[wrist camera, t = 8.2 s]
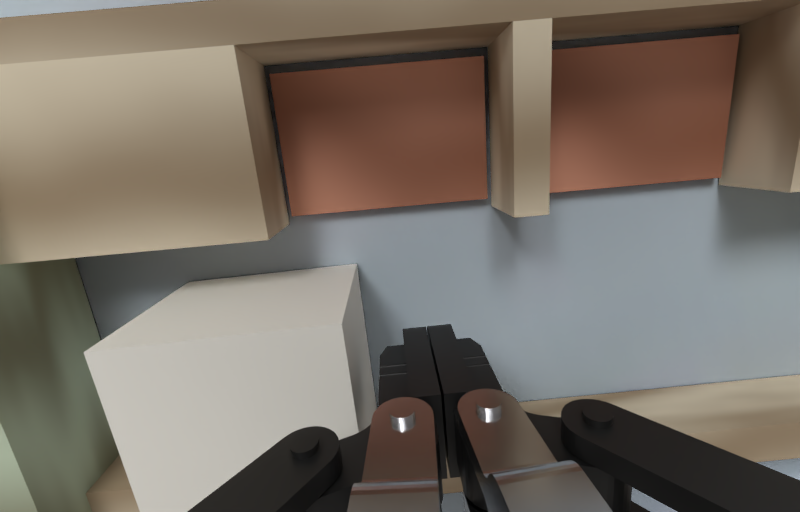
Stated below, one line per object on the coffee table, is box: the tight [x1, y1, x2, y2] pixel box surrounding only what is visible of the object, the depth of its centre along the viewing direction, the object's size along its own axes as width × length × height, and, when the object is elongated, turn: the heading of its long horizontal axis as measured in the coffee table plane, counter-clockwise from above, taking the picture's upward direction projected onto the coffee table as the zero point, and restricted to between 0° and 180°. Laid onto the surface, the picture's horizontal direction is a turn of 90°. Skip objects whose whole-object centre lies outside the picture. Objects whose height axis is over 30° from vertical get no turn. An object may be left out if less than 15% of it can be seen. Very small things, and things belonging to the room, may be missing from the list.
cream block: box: [83, 264, 377, 512], centre depth 12 cm, size 6×6×5 cm
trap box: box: [0, 0, 800, 512], centre depth 12 cm, size 16×32×4 cm, turn 95°
